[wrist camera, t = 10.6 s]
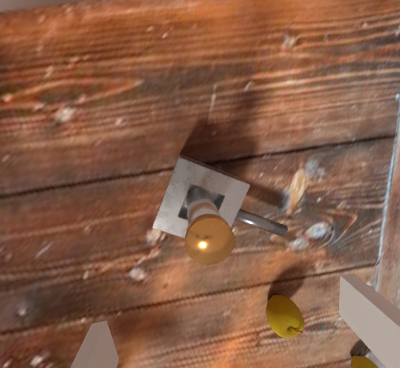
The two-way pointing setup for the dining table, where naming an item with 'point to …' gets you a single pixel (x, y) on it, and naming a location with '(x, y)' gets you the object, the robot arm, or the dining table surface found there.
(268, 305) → the apple
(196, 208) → the grey gold cylinder
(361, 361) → the lemon
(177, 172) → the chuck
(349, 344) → the dining table surface
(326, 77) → the dining table surface
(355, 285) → the robot arm
